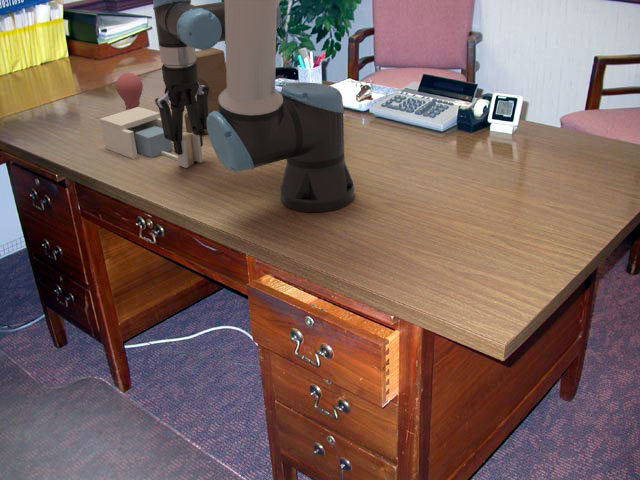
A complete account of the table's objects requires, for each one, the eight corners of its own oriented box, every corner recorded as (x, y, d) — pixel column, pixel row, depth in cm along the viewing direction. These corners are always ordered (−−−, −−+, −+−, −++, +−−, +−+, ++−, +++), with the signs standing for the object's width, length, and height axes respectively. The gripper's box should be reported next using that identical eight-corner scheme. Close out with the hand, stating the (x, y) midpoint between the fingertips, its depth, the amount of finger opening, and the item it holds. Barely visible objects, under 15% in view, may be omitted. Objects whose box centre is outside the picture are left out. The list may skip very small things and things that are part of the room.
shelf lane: (105, 148, 177) (99, 118, 173) (143, 135, 184) (138, 106, 180) (133, 158, 169) (128, 128, 166) (172, 144, 177) (167, 115, 173)
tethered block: (137, 152, 173) (132, 124, 170) (158, 145, 177) (153, 118, 174) (181, 168, 162) (176, 140, 159) (201, 160, 166) (197, 132, 163)
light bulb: (141, 120, 195) (134, 77, 189) (117, 119, 196) (109, 77, 190) (151, 112, 201) (144, 70, 195) (127, 111, 202) (120, 70, 197)
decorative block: (196, 137, 181) (185, 58, 171) (185, 131, 185) (174, 55, 175) (233, 127, 187) (225, 50, 177) (222, 121, 191) (213, 47, 181)
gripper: (197, 52, 160) (207, 148, 172) (136, 68, 149) (151, 170, 161) (219, 57, 156) (228, 156, 167) (158, 75, 145) (172, 179, 157)
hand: (190, 163), depth 164 cm, fingers closed on tethered block, 3 cm apart
